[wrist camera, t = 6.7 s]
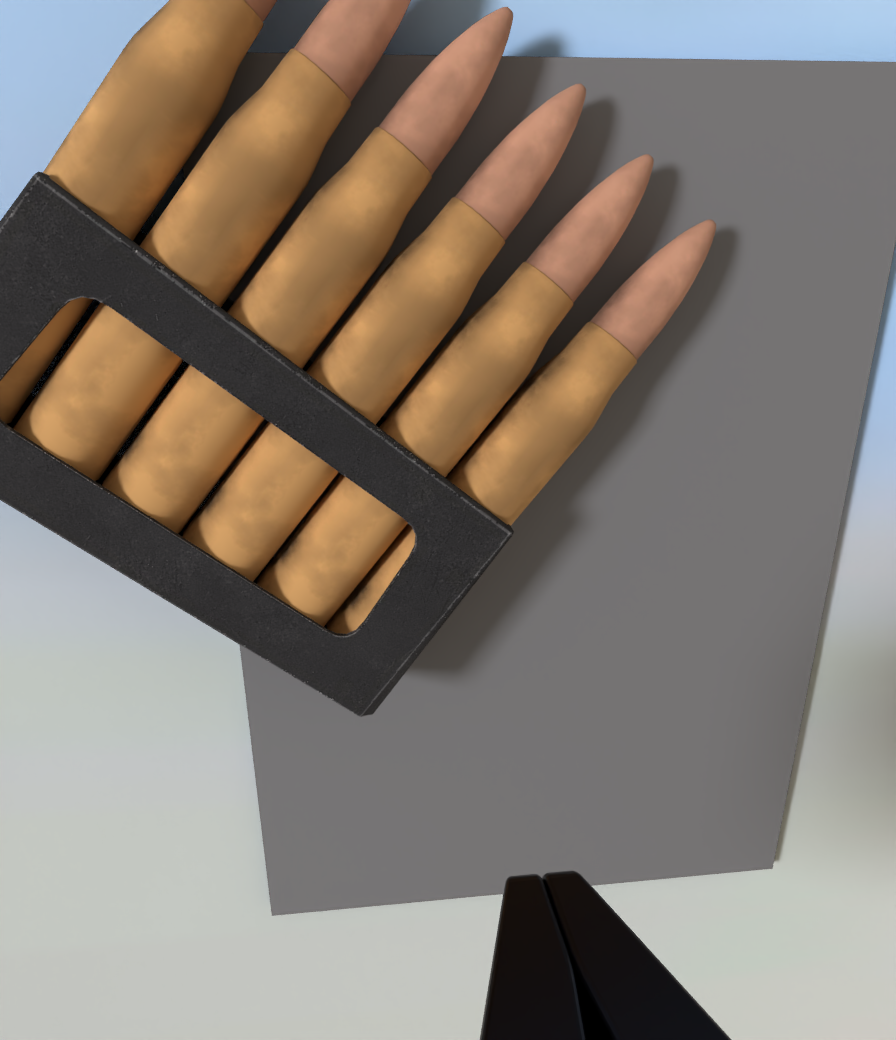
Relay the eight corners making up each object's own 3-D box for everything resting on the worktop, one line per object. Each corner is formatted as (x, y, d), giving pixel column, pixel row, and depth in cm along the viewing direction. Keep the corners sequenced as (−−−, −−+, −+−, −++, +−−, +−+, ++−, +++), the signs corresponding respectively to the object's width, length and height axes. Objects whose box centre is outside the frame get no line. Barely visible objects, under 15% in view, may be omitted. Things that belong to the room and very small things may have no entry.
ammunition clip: (364, 676, 18) (723, 253, 16) (368, 721, 16) (770, 255, 14) (-87, 393, 15) (290, -190, 13) (-143, 414, 13) (284, -258, 11)
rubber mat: (273, 906, 21) (271, 915, 21) (172, 54, 14) (168, 51, 13) (767, 860, 23) (772, 868, 22) (920, 65, 15) (931, 62, 15)
